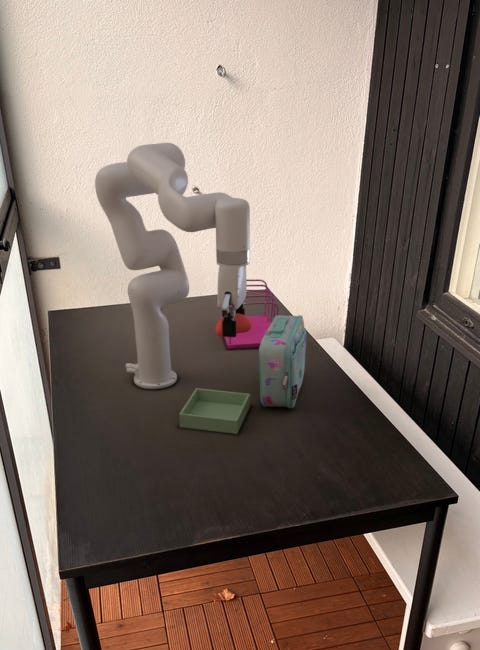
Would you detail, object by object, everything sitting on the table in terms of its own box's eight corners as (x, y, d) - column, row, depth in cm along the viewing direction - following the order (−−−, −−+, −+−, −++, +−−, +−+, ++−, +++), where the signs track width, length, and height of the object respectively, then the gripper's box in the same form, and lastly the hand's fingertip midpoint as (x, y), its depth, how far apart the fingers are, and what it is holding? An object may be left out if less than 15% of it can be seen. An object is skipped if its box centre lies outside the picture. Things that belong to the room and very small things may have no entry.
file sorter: (267, 319, 233) (268, 277, 225) (280, 346, 212) (281, 300, 204) (219, 322, 231) (218, 279, 223) (227, 349, 210) (227, 303, 202)
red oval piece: (214, 335, 158) (208, 318, 153) (246, 318, 159) (241, 300, 154) (223, 349, 155) (217, 332, 150) (256, 331, 156) (251, 314, 151)
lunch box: (294, 418, 170) (298, 342, 160) (256, 414, 172) (257, 339, 162) (306, 375, 193) (309, 306, 182) (272, 372, 195) (273, 304, 184)
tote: (179, 427, 166) (179, 414, 165) (196, 400, 179) (196, 388, 177) (237, 434, 163) (237, 420, 161) (250, 406, 176) (250, 393, 174)
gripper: (226, 246, 154) (227, 316, 163) (206, 266, 139) (208, 342, 148) (257, 247, 152) (256, 318, 161) (240, 268, 138) (240, 345, 146)
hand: (233, 329), depth 154 cm, fingers closed on red oval piece, 7 cm apart
